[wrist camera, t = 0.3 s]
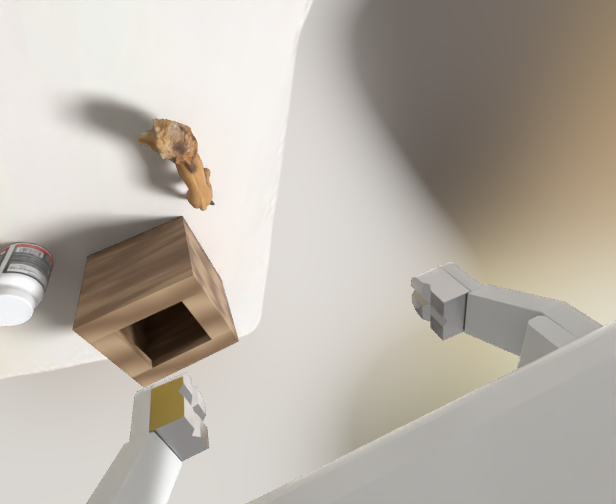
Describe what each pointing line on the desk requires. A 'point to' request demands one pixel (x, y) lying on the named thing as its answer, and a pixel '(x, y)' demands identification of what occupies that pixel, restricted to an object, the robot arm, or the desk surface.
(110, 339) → the slot box
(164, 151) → the lion figurine
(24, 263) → the pill bottle
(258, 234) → the desk surface
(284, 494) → the robot arm
